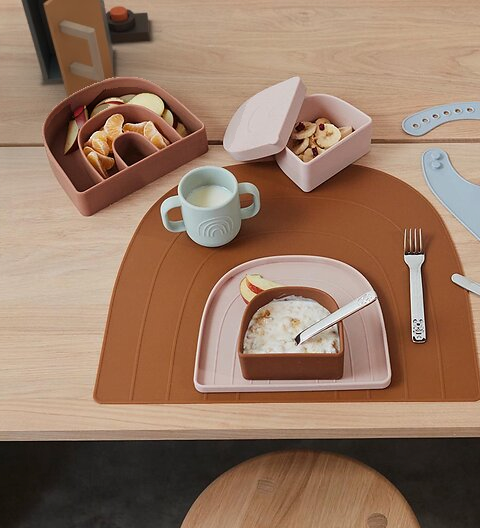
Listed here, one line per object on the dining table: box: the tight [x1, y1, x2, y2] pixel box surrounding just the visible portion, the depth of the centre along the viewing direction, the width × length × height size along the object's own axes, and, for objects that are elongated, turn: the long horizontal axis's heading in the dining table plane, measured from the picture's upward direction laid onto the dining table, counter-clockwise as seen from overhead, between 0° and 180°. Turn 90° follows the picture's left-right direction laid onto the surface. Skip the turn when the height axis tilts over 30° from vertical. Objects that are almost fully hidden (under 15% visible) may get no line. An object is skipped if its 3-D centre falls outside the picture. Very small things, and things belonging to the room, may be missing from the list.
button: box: [109, 5, 128, 22], centre depth 156 cm, size 4×4×2 cm
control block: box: [106, 8, 151, 44], centre depth 158 cm, size 12×8×4 cm, turn 98°
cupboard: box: [21, 0, 114, 84], centre depth 142 cm, size 10×14×24 cm
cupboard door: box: [44, 0, 115, 119], centre depth 134 cm, size 8×14×24 cm, turn 155°
